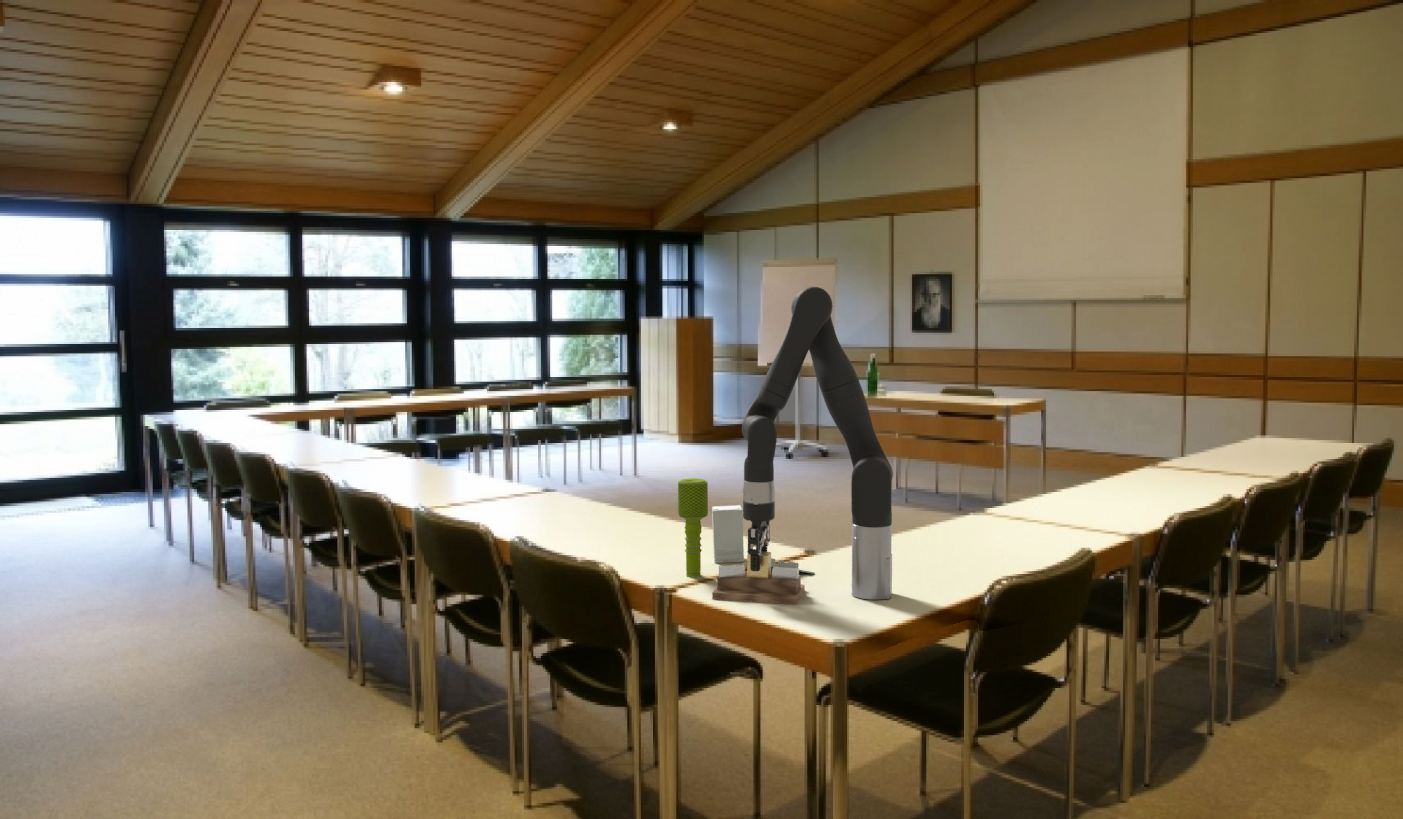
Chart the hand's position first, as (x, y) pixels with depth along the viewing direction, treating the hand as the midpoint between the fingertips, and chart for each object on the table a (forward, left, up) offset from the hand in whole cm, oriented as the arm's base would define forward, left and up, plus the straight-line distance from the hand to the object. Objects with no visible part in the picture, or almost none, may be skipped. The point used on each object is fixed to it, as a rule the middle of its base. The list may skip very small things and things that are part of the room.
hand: (759, 566), depth 241 cm
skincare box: (+15, -31, -7) cm, 35 cm away
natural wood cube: (0, 0, -2) cm, 2 cm away
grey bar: (0, +1, -2) cm, 3 cm away
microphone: (+20, -14, -7) cm, 25 cm away
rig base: (0, 0, -7) cm, 7 cm away
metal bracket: (-1, -20, -8) cm, 22 cm away
